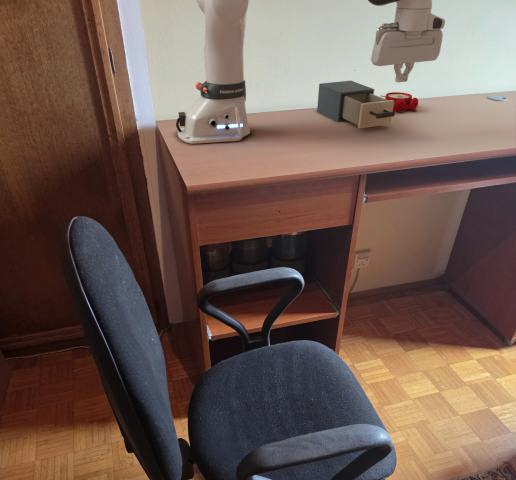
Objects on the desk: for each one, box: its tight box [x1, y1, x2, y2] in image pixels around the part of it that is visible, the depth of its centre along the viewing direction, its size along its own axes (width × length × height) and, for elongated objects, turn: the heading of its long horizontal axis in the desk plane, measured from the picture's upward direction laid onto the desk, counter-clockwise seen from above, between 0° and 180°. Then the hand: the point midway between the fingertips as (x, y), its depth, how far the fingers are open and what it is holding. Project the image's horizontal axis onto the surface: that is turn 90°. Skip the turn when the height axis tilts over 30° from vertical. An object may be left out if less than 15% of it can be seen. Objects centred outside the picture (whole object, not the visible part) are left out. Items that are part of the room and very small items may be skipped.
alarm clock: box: [380, 91, 419, 114], centre depth 159 cm, size 10×6×15 cm
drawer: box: [340, 93, 396, 129], centre depth 142 cm, size 18×11×7 cm, turn 23°
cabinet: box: [316, 80, 375, 123], centre depth 153 cm, size 15×13×9 cm
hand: (401, 81), depth 126 cm, fingers closed
